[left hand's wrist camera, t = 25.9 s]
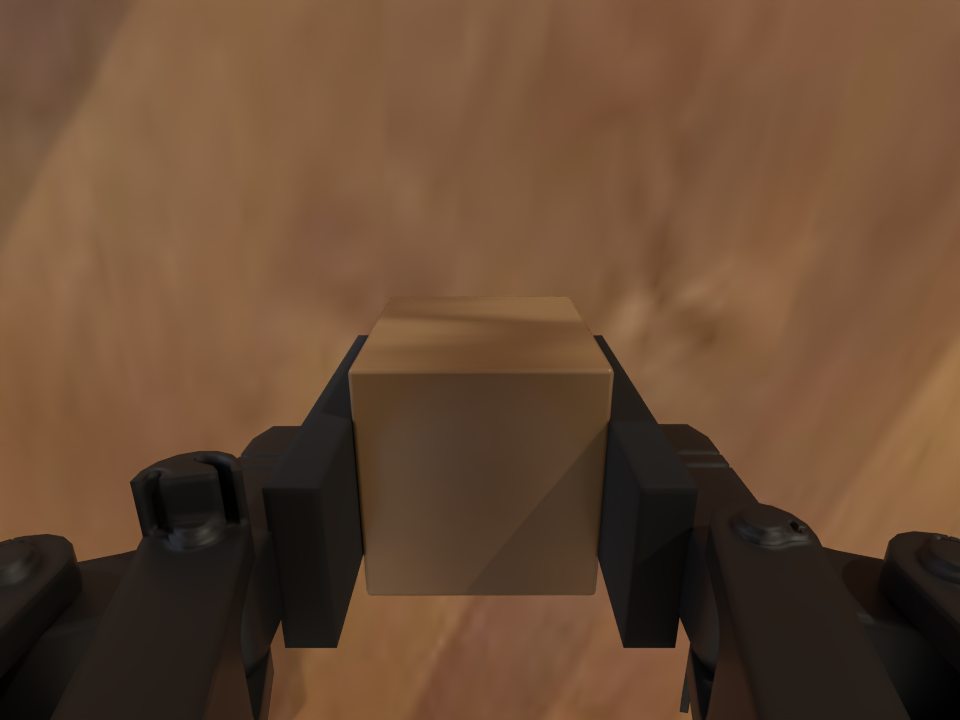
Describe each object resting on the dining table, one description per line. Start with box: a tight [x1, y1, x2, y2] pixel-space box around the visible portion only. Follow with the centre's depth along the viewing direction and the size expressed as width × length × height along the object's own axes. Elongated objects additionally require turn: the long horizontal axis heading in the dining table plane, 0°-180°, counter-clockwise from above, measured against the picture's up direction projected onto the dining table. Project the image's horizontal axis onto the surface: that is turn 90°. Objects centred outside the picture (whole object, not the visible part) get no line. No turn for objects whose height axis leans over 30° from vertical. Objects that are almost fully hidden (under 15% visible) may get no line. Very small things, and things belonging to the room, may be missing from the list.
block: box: [348, 297, 614, 595], centre depth 12 cm, size 4×4×5 cm
